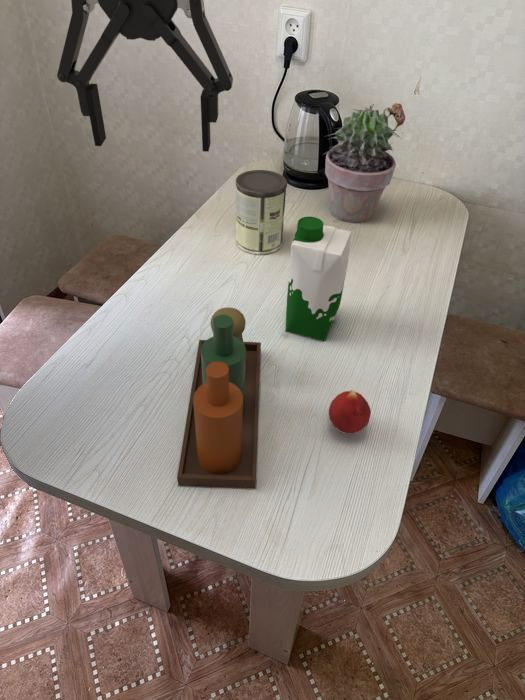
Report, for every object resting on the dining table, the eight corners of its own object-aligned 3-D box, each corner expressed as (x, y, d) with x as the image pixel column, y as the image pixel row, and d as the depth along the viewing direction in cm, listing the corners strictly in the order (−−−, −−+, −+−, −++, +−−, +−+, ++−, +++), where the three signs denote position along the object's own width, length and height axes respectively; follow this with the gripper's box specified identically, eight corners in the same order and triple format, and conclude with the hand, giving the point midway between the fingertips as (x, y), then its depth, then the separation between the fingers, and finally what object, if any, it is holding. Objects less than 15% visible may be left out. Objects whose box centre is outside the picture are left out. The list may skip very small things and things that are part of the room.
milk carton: (293, 304, 95) (303, 207, 81) (340, 316, 93) (359, 218, 79) (278, 333, 89) (287, 233, 75) (328, 346, 87) (346, 246, 73)
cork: (225, 386, 78) (225, 333, 71) (201, 365, 81) (198, 312, 74) (254, 368, 81) (257, 316, 74) (230, 348, 85) (230, 296, 77)
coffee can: (249, 225, 115) (251, 165, 105) (290, 238, 112) (295, 177, 102) (226, 246, 108) (225, 183, 99) (268, 260, 105) (272, 197, 95)
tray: (178, 486, 66) (176, 477, 65) (199, 348, 85) (199, 339, 84) (255, 489, 66) (256, 480, 65) (260, 351, 85) (260, 342, 84)
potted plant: (294, 201, 124) (304, 93, 107) (363, 190, 130) (383, 85, 113) (329, 238, 112) (347, 123, 95) (402, 224, 118) (431, 113, 101)
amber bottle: (195, 473, 67) (187, 387, 55) (200, 436, 71) (194, 350, 60) (240, 475, 67) (242, 390, 55) (242, 438, 71) (244, 352, 60)
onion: (368, 419, 76) (379, 383, 70) (361, 449, 72) (372, 413, 66) (330, 409, 77) (338, 372, 71) (321, 438, 73) (329, 402, 67)
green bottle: (202, 422, 73) (196, 335, 61) (206, 391, 77) (201, 304, 66) (243, 424, 73) (245, 338, 61) (245, 393, 78) (247, 307, 66)
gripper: (257, -66, 53) (251, 138, 68) (19, -80, 53) (65, 128, 67) (255, -59, 48) (249, 161, 62) (-11, -74, 47) (46, 151, 62)
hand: (153, 145), depth 65 cm, fingers open, 13 cm apart
